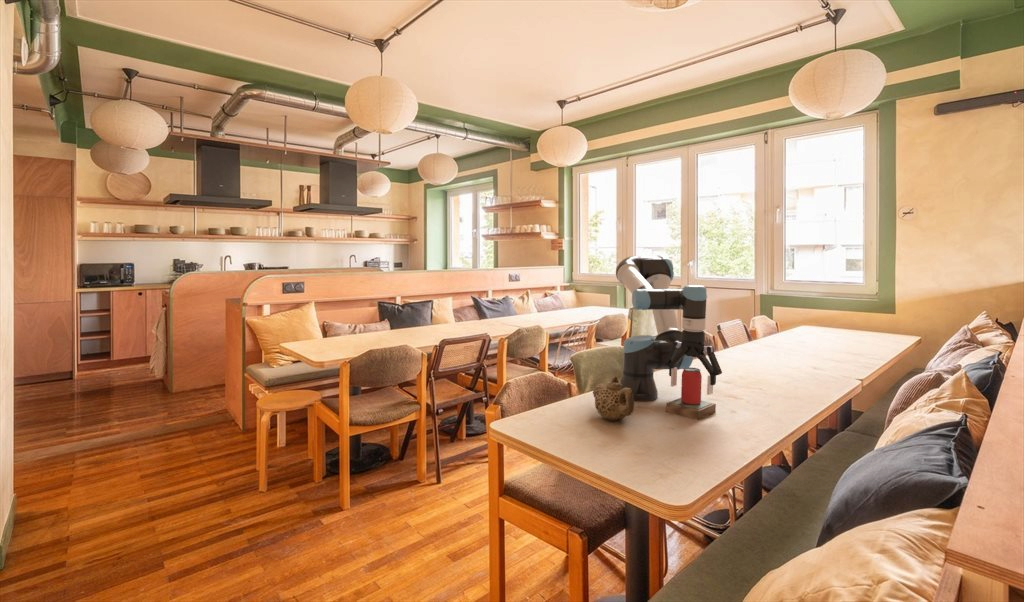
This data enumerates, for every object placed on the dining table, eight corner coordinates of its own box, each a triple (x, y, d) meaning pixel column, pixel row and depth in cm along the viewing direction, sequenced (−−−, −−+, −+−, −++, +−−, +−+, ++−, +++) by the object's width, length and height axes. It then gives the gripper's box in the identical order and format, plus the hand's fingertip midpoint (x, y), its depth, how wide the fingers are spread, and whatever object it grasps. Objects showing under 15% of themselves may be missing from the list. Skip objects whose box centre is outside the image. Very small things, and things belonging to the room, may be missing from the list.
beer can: (702, 406, 169) (703, 371, 168) (682, 405, 171) (683, 370, 170) (699, 400, 176) (700, 367, 175) (679, 399, 177) (680, 366, 176)
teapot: (582, 412, 173) (582, 370, 171) (609, 408, 177) (610, 367, 176) (618, 433, 153) (618, 385, 152) (648, 427, 158) (649, 381, 156)
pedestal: (666, 411, 174) (666, 402, 174) (683, 404, 182) (684, 395, 182) (698, 419, 165) (698, 410, 165) (715, 412, 173) (715, 403, 173)
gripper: (655, 326, 178) (654, 384, 180) (723, 335, 159) (721, 399, 161) (666, 324, 183) (665, 380, 185) (734, 333, 164) (731, 395, 166)
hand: (691, 389), depth 173 cm, fingers open, 13 cm apart
